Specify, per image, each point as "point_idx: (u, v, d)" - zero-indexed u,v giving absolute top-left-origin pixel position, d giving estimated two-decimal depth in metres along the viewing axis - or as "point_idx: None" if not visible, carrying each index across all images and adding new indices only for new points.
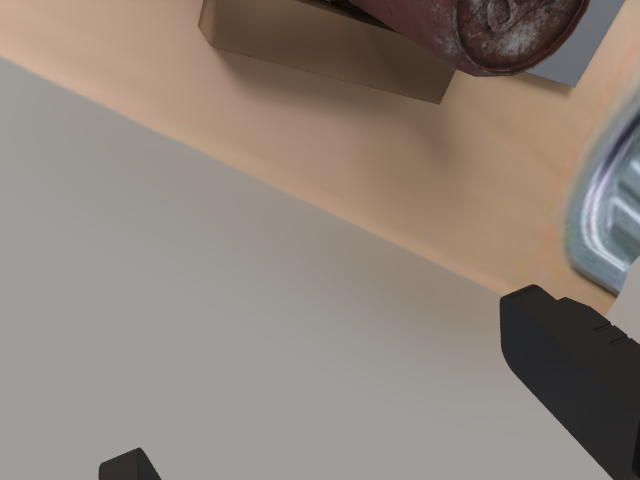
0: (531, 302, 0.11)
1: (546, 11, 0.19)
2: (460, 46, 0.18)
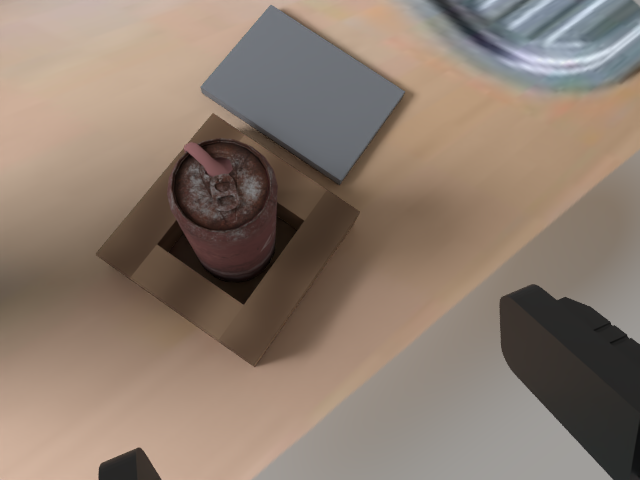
0: (531, 302, 0.11)
1: (241, 170, 0.30)
2: (236, 229, 0.29)
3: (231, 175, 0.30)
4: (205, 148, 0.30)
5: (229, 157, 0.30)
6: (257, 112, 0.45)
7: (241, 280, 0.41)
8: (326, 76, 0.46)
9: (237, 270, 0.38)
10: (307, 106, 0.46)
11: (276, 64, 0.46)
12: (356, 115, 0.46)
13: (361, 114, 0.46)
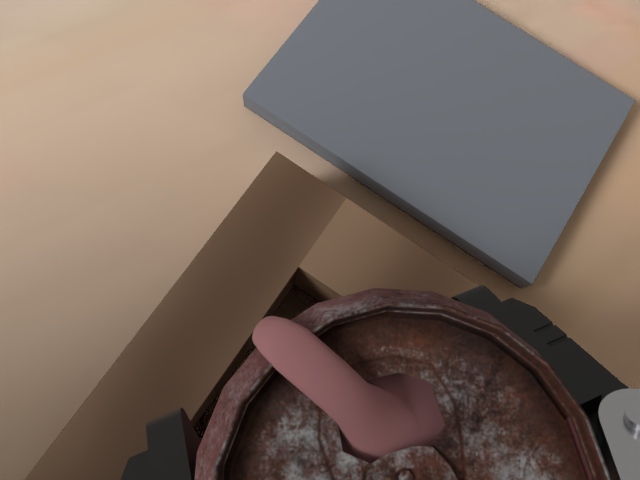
0: (477, 303, 0.11)
1: (477, 426, 0.08)
2: None
3: (443, 451, 0.08)
4: (337, 341, 0.08)
5: (428, 373, 0.08)
6: (357, 144, 0.22)
7: None
8: (485, 72, 0.24)
9: None
10: (453, 131, 0.23)
11: (388, 49, 0.24)
12: (549, 149, 0.23)
13: (558, 146, 0.23)
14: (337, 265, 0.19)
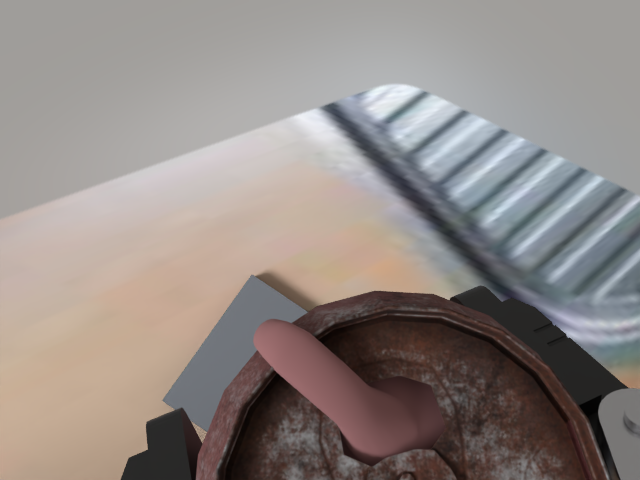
0: (476, 303, 0.11)
1: (478, 429, 0.08)
2: None
3: (444, 454, 0.08)
4: (338, 344, 0.08)
5: (429, 376, 0.08)
6: None
7: None
8: None
9: None
10: None
11: None
12: None
13: None
14: None
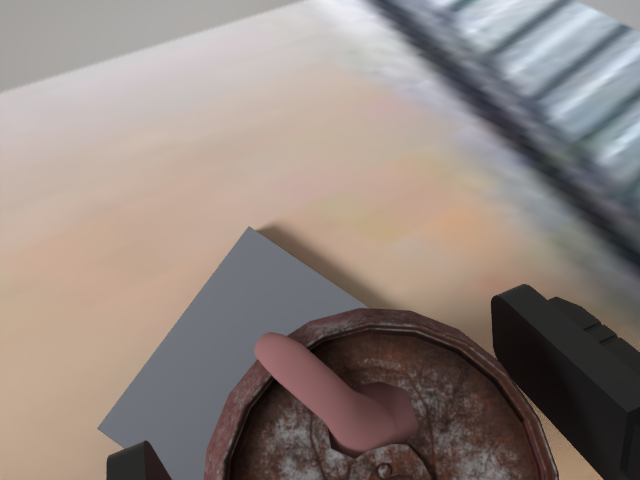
0: (522, 301, 0.11)
1: (445, 427, 0.09)
2: None
3: (416, 449, 0.09)
4: (327, 354, 0.09)
5: (404, 382, 0.09)
6: None
7: None
8: None
9: None
10: None
11: None
12: None
13: None
14: None
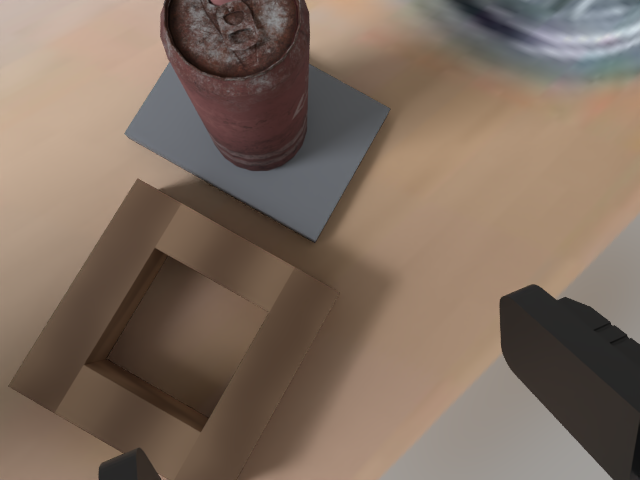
0: (531, 302, 0.11)
1: None
2: (259, 74, 0.21)
3: (244, 1, 0.22)
4: None
5: None
6: (200, 160, 0.35)
7: (270, 167, 0.34)
8: None
9: (264, 150, 0.30)
10: None
11: None
12: (329, 150, 0.35)
13: (335, 147, 0.35)
14: (178, 245, 0.32)
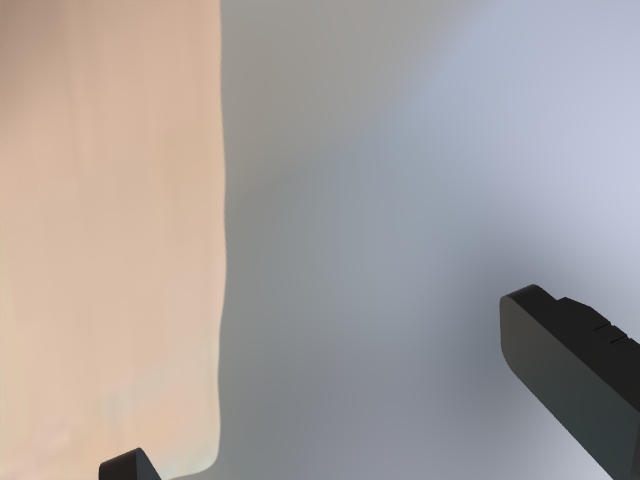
0: (531, 302, 0.11)
1: None
2: None
3: None
4: None
5: None
6: None
7: None
8: None
9: None
10: None
11: None
12: None
13: None
14: None
